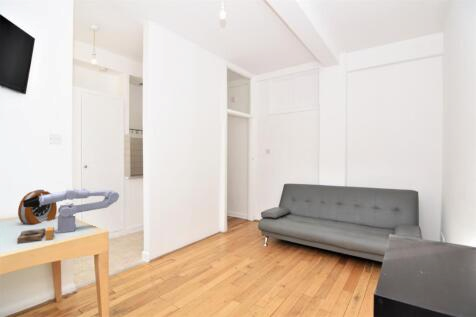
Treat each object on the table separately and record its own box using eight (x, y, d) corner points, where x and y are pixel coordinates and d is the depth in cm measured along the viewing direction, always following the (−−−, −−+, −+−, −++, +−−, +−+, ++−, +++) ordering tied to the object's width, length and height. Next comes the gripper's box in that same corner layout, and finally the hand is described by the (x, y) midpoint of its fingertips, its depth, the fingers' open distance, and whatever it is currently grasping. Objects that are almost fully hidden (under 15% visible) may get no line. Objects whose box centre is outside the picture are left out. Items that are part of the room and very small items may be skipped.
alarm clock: (29, 226, 161) (30, 192, 161) (17, 225, 163) (17, 191, 163) (59, 218, 183) (59, 188, 183) (47, 217, 184) (48, 187, 184)
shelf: (45, 233, 148) (45, 225, 148) (41, 240, 135) (41, 232, 135) (23, 235, 143) (23, 227, 142) (17, 243, 130) (17, 235, 130)
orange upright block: (53, 236, 143) (53, 226, 143) (52, 239, 137) (52, 230, 137) (47, 236, 142) (47, 227, 142) (45, 240, 136) (45, 230, 136)
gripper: (50, 189, 154) (22, 194, 145) (52, 194, 143) (21, 200, 134) (52, 200, 155) (24, 206, 146) (54, 205, 144) (24, 212, 136)
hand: (23, 204), depth 140 cm, fingers open, 7 cm apart
